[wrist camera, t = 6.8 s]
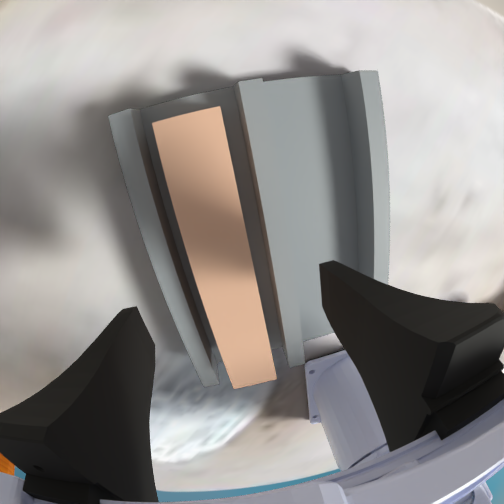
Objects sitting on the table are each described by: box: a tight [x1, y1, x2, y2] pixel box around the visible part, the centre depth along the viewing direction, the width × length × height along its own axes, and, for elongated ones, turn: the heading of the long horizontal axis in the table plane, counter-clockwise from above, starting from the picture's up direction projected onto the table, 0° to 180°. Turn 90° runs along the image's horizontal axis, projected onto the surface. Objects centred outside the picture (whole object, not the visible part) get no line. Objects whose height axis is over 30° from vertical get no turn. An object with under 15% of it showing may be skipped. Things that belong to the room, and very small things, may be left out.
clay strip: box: [152, 106, 277, 389], centre depth 14 cm, size 14×2×4 cm, turn 10°
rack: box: [108, 71, 390, 387], centre depth 16 cm, size 16×13×3 cm
